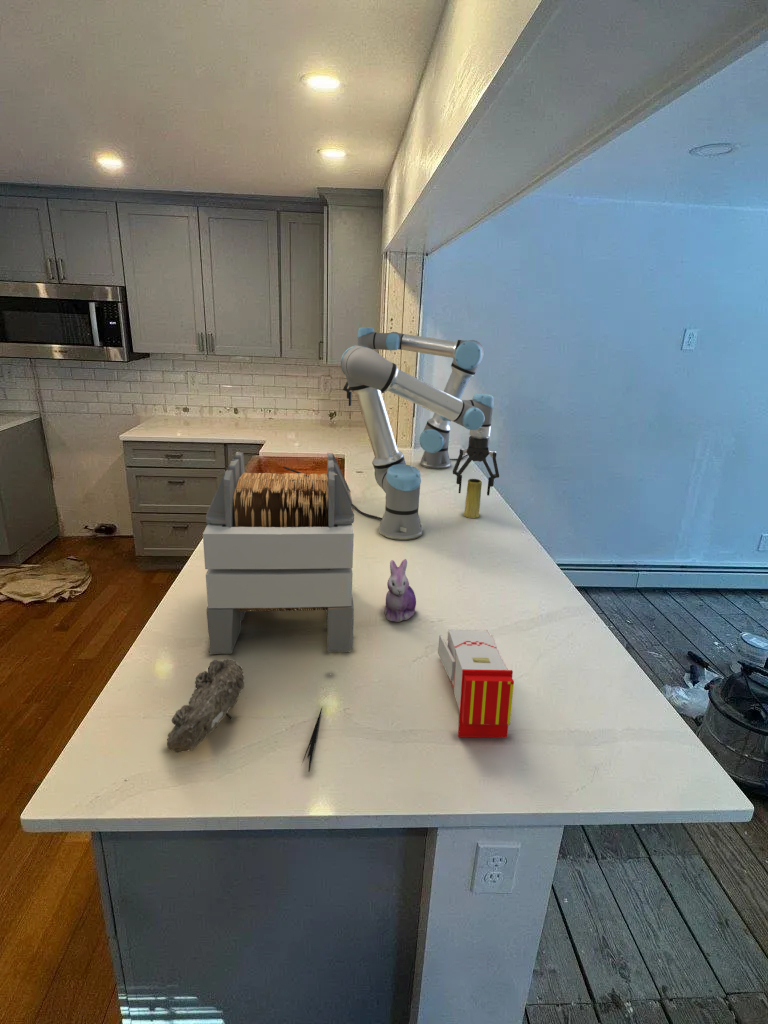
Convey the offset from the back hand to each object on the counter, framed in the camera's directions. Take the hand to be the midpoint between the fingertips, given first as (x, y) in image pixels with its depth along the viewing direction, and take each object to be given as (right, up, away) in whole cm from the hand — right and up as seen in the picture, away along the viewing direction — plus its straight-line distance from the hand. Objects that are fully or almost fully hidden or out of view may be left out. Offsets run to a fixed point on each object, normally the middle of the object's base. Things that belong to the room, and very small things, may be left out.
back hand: (363, 406), depth 276 cm
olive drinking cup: (+44, -53, -55) cm, 88 cm away
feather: (-2, -91, -167) cm, 191 cm away
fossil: (-23, -91, -168) cm, 192 cm away
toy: (+28, -89, -158) cm, 183 cm away
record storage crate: (-15, -78, -132) cm, 154 cm away
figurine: (+14, -78, -129) cm, 151 cm away
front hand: (+44, -44, -58) cm, 86 cm away
